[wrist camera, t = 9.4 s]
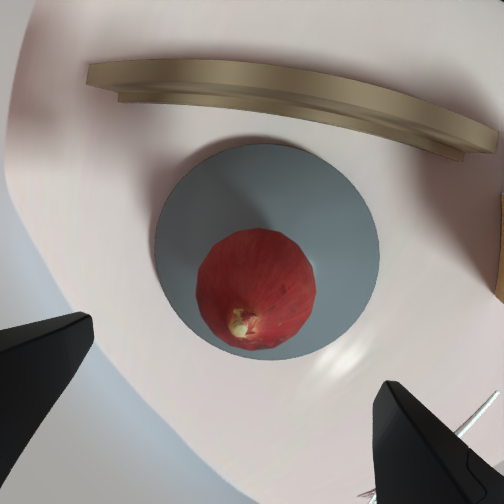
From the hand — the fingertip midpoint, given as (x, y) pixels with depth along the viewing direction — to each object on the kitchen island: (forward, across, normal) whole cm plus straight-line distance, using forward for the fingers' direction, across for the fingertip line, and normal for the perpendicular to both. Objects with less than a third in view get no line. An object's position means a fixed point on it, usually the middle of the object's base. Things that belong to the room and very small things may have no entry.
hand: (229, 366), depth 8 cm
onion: (+11, 0, +1) cm, 11 cm away
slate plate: (+12, 0, +1) cm, 12 cm away
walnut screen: (+12, 0, -9) cm, 15 cm away
